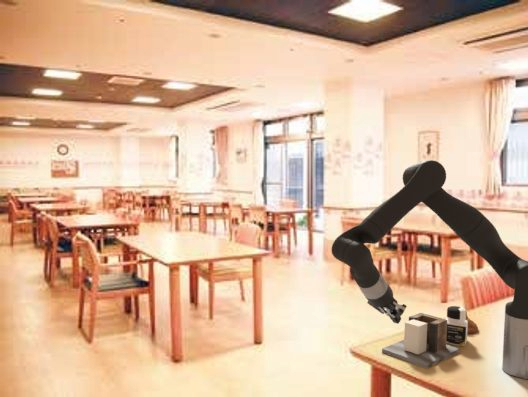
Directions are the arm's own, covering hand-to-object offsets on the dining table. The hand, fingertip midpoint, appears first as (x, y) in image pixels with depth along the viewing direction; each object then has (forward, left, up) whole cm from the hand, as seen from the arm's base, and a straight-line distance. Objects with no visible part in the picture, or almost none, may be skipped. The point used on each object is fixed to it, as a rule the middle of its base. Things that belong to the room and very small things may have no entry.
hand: (397, 320), depth 144 cm
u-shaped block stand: (+5, -13, -13) cm, 20 cm away
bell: (+19, -43, -14) cm, 49 cm away
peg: (+4, -10, -12) cm, 16 cm away
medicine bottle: (+9, -31, -14) cm, 35 cm away
